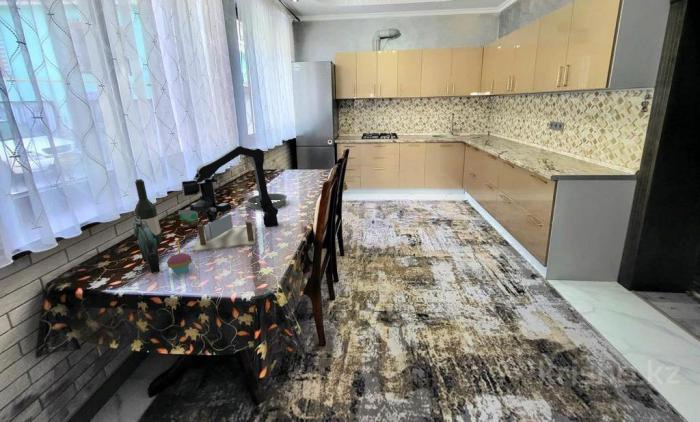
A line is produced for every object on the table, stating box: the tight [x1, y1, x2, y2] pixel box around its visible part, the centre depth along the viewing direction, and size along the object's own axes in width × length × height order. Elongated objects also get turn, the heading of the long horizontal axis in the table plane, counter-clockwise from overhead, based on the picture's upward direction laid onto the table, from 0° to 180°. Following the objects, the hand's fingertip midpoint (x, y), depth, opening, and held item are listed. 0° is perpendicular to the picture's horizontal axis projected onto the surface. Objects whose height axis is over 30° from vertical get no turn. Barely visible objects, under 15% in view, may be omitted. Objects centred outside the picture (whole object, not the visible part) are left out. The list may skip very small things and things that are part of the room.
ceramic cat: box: [132, 216, 161, 274], centre depth 139 cm, size 20×6×20 cm, turn 37°
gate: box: [203, 213, 234, 241], centre depth 165 cm, size 18×2×7 cm, turn 164°
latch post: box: [245, 219, 254, 241], centre depth 160 cm, size 3×3×9 cm
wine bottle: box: [134, 178, 163, 245], centre depth 162 cm, size 8×8×30 cm
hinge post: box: [196, 223, 206, 245], centre depth 157 cm, size 2×2×9 cm
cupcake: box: [166, 240, 192, 275], centre depth 133 cm, size 9×8×12 cm
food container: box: [177, 206, 200, 229], centre depth 187 cm, size 12×6×10 cm, turn 168°
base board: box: [192, 225, 257, 253], centre depth 166 cm, size 26×24×1 cm
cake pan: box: [246, 193, 288, 211], centre depth 222 cm, size 25×25×4 cm
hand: (213, 224), depth 168 cm, fingers closed
